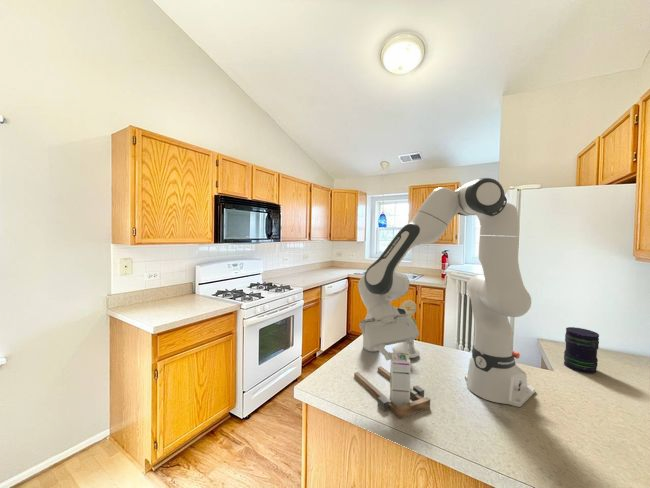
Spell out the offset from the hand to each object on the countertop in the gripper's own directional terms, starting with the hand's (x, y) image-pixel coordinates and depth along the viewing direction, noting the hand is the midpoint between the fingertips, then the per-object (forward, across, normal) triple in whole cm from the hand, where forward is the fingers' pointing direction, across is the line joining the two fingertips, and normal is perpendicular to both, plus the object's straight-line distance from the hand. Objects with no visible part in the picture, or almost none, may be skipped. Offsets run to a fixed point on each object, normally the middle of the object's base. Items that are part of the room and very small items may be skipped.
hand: (401, 356), depth 85 cm
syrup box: (+10, 0, +10) cm, 15 cm away
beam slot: (+6, 0, +15) cm, 16 cm away
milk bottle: (-15, +14, +36) cm, 41 cm away
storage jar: (+20, +81, +1) cm, 84 cm away
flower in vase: (-6, +24, +27) cm, 37 cm away
